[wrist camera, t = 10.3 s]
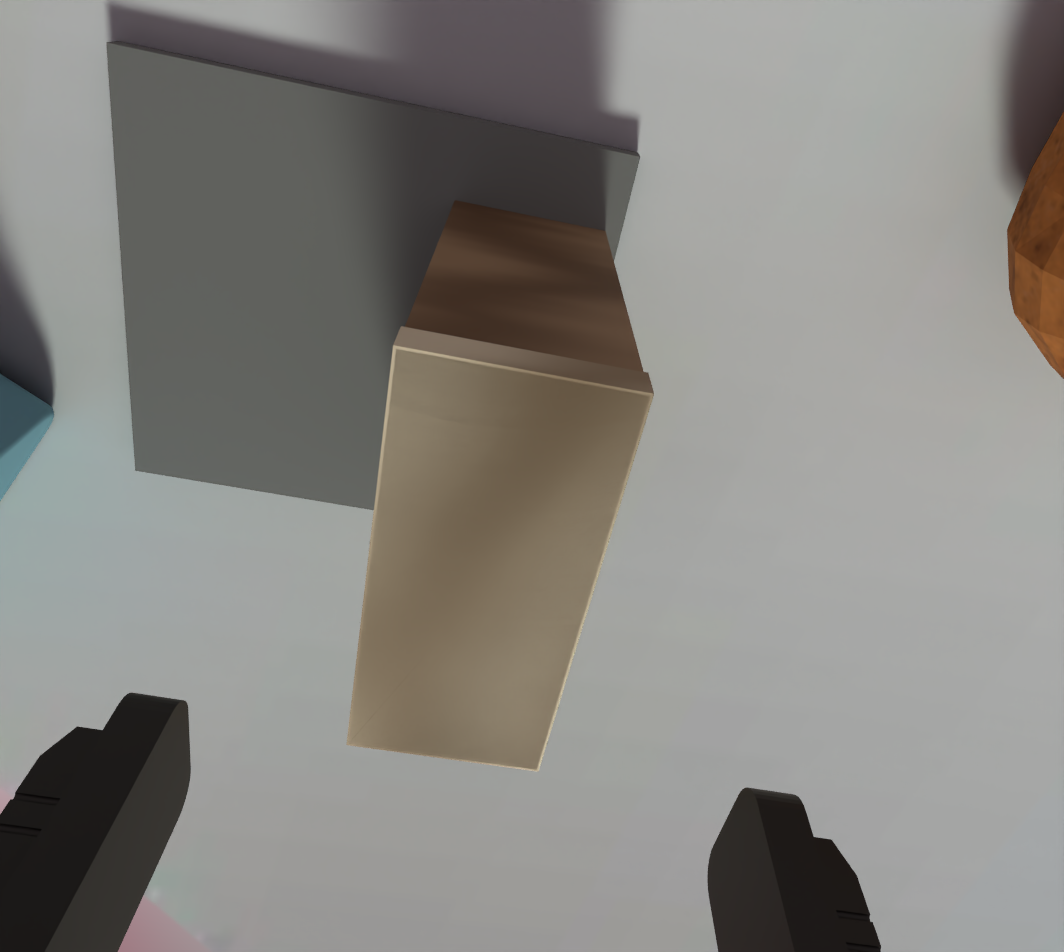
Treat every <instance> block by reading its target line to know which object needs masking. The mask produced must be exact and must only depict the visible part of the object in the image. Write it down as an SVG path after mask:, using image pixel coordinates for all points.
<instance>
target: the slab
mask: <svg viewBox="0 0 1064 952" xmlns="http://www.w3.org/2000/svg"><path fill="white" fill-rule="evenodd" d="M653 396H654V392H653V388H652V385H651V381H650V378H649V374H648V373H646V372H643V368H642V364H641V361H640V357H639V353H638V349H637V346H636V342H635V338H634V335H633V331H632V327H631V324H630V320H629V316H628V312H627V309H626V305H625V301H624V298H623V294H622V290H621V287H620V283H619V279H618V276H617V272H616V268H615V264H614V261H613V257H612V253H611V250H610V246H609V242H608V239H607V235H606V231H603V230H598V229H593V228H589V227H584V226H579V225H574V224H569V223H564V222H559V221H555V220H550V219H545V218H540V217H535V216H530V215H525V214H520V213H516V212H511V211H506V210H501V209H496V208H491V207H486V206H482V205H477V204H472V203H467V202H462V201H457V200H455V201H454V204H453V206H452V209H451V211H450V214H449V216H448V219H447V221H446V224H445V226H444V229H443V231H442V234H441V236H440V239H439V241H438V244H437V247H436V249H435V252H434V254H433V257H432V259H431V262H430V264H429V267H428V269H427V272H426V274H425V277H424V279H423V282H422V284H421V287H420V290H419V292H418V295H417V297H416V300H415V302H414V305H413V307H412V310H411V312H410V315H409V317H408V320H407V322H406V325H405V327H403V326H401V327H400V330H399V332H398V334H397V337H396V339H395V342H394V344H393V351H392V359H391V368H390V377H389V385H388V394H387V402H386V411H385V419H384V428H383V437H382V445H381V454H380V462H379V471H378V479H377V488H376V497H375V505H374V514H373V522H372V531H371V539H370V548H369V557H368V565H367V574H366V582H365V591H364V599H363V608H362V617H361V625H360V634H359V642H358V651H357V659H356V668H355V677H354V685H353V694H352V702H351V711H350V719H349V728H348V737H347V745H350V746H358V747H365V748H372V749H379V750H387V751H394V752H401V753H408V754H415V755H423V756H430V757H437V758H444V759H451V760H459V761H466V762H473V763H480V764H487V765H495V766H502V767H509V768H516V769H523V770H531V771H539V768H540V765H541V761H542V758H543V755H544V751H545V748H546V745H547V742H548V738H549V735H550V732H551V729H552V725H553V722H554V719H555V716H556V712H557V709H558V706H559V702H560V699H561V696H562V693H563V689H564V686H565V683H566V680H567V676H568V673H569V670H570V667H571V663H572V660H573V657H574V654H575V650H576V647H577V644H578V640H579V637H580V634H581V631H582V627H583V624H584V621H585V618H586V614H587V611H588V608H589V605H590V601H591V598H592V595H593V592H594V588H595V585H596V582H597V578H598V575H599V572H600V569H601V565H602V562H603V559H604V556H605V552H606V549H607V546H608V543H609V539H610V536H611V533H612V529H613V526H614V523H615V520H616V516H617V513H618V510H619V507H620V503H621V500H622V497H623V494H624V490H625V487H626V484H627V481H628V477H629V474H630V471H631V467H632V464H633V461H634V458H635V454H636V451H637V448H638V445H639V441H640V438H641V435H642V432H643V428H644V425H645V422H646V419H647V415H648V412H649V409H650V405H651V402H652V399H653Z"/></svg>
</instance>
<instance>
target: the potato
mask: <svg viewBox="0 0 1064 952" xmlns="http://www.w3.org/2000/svg"><path fill="white" fill-rule="evenodd" d="M1007 237H1008V267H1009V290H1010V295H1011V300H1012V305H1013V310H1014V314H1015V315H1016V316H1017V318H1018V319H1019V321H1020V322H1021V324H1022V325H1023V326H1024V328H1025V329H1026V331H1027V332H1028V334H1029V335H1030V337H1031V338H1032V339H1033V341H1034V342H1035V344H1036V345H1037V347H1038V348H1039V349H1040V351H1041V352H1042V354H1043V355H1044V357H1045V358H1046V360H1047V361H1048V362H1049V364H1050V365H1051V366H1052V367H1053V368H1054V369H1055V370H1056V371H1057V372H1058V374H1059V375H1060V376H1061V377H1062V378H1063V379H1064V112H1063V114H1062V116H1061V117H1060V119H1059V121H1058V123H1057V124H1056V126H1055V128H1054V130H1053V132H1052V133H1051V135H1050V137H1049V139H1048V140H1047V142H1046V144H1045V146H1044V148H1043V149H1042V151H1041V153H1040V155H1039V156H1038V158H1037V160H1036V162H1035V164H1034V165H1033V167H1032V169H1031V171H1030V174H1029V176H1028V179H1027V181H1026V184H1025V186H1024V189H1023V191H1022V194H1021V196H1020V199H1019V201H1018V204H1017V206H1016V209H1015V211H1014V214H1013V216H1012V219H1011V221H1010V224H1009V226H1008V229H1007Z"/></svg>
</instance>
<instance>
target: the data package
mask: <svg viewBox="0 0 1064 952" xmlns="http://www.w3.org/2000/svg"><path fill="white" fill-rule="evenodd" d="M53 417H54V411H53V409H52V407H51V406H50V405H48V404H47V403H45V402H44V401H42V400H41V399H39V398H37V397H36V396H34V395H33V394H31V393H30V392H28V391H26V390H25V389H23V388H22V387H20V386H19V385H17V384H15V383H14V382H12V381H11V380H9V379H8V378H6V377H5V376H3V375H1V374H0V501H1V499H2V498H3V496H4V495H5V493H6V492H7V490H8V489H9V487H10V486H11V484H12V483H13V481H14V480H15V478H16V476H17V475H18V473H19V472H20V470H21V469H22V467H23V466H24V464H25V463H26V461H27V460H28V458H29V457H30V455H31V454H32V452H33V451H34V449H35V448H36V446H37V445H38V443H39V442H40V440H41V439H42V437H43V436H44V434H45V433H46V431H47V430H48V428H49V426H50V425H51V423H52V420H53Z"/></svg>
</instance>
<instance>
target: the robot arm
mask: <svg viewBox="0 0 1064 952" xmlns="http://www.w3.org/2000/svg"><path fill="white" fill-rule="evenodd" d="M190 773H191V766H190V742H189V717H188V705H187V703H186V701H184V700H177V699H171V698H164V697H157V696H151V695H144V694H138V693H129V694H127V695H126V696H125V697H124V698H123V699H122V700H121V702H120V703H119V705H118V706H117V708H116V709H115V711H114V713H113V714H112V716H111V718H110V719H109V721H108V722H107V724H106V726H105V727H104V729H103V730H97V729H90V728H83V727H76V728H75V729H74V730H72V731H71V732H70V733H68V734H67V735H66V736H65V737H63V738H62V739H61V740H60V741H58V742H57V743H56V744H54V745H53V746H52V747H51V748H49V749H48V750H47V751H46V752H44V753H43V754H42V755H40V757H39V758H38V760H37V761H36V763H35V764H34V766H33V767H32V768H31V770H30V771H29V773H28V774H27V776H26V777H25V779H24V780H23V782H22V783H21V785H20V786H19V788H18V789H17V791H16V792H15V797H14V799H13V800H10V801H9V802H8V804H7V806H6V807H5V809H4V810H3V811H2V813H1V814H0V952H118V950H119V947H120V945H121V943H122V941H123V938H124V936H125V934H126V932H127V930H128V928H129V925H130V923H131V921H132V919H133V917H134V915H135V912H136V910H137V908H138V906H139V904H140V901H141V899H142V897H143V895H144V893H145V891H146V888H147V886H148V884H149V882H150V880H151V877H152V875H153V873H154V871H155V869H156V867H157V864H158V862H159V860H160V858H161V856H162V853H163V851H164V849H165V847H166V845H167V842H168V840H169V838H170V836H171V834H172V832H173V829H174V827H175V825H176V823H177V821H178V818H179V816H180V814H181V811H182V808H183V805H184V802H185V799H186V795H187V791H188V787H189V781H190ZM708 893H709V899H710V905H711V911H712V917H713V923H714V929H715V934H716V940H717V946H718V952H880V949H881V945H880V942H879V939H878V936H877V933H876V930H875V928H874V925H873V922H870V919H869V916H870V913H869V910H868V907H867V904H866V901H865V898H864V895H863V892H862V890H861V887H860V884H859V881H858V878H857V875H856V874H855V872H854V871H853V870H852V868H851V867H850V865H849V864H848V862H847V861H846V860H845V858H844V857H843V855H842V854H841V853H840V851H839V850H838V848H837V847H836V846H835V844H834V843H833V841H832V840H830V839H823V838H816V837H813V833H812V830H811V827H810V824H809V820H808V817H807V814H806V811H805V808H804V805H803V803H802V801H801V800H800V798H799V797H798V796H796V795H793V794H787V793H780V792H773V791H767V790H760V789H754V788H744V789H743V790H742V791H741V792H740V794H739V795H738V797H737V799H736V801H735V803H734V805H733V807H732V809H731V811H730V813H729V815H728V817H727V819H726V821H725V823H724V825H723V827H722V829H721V832H720V834H719V836H718V838H717V840H716V842H715V844H714V846H713V848H712V851H711V854H710V858H709V865H708Z"/></svg>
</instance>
